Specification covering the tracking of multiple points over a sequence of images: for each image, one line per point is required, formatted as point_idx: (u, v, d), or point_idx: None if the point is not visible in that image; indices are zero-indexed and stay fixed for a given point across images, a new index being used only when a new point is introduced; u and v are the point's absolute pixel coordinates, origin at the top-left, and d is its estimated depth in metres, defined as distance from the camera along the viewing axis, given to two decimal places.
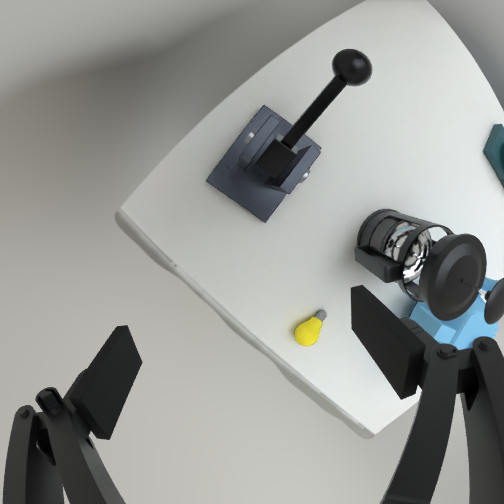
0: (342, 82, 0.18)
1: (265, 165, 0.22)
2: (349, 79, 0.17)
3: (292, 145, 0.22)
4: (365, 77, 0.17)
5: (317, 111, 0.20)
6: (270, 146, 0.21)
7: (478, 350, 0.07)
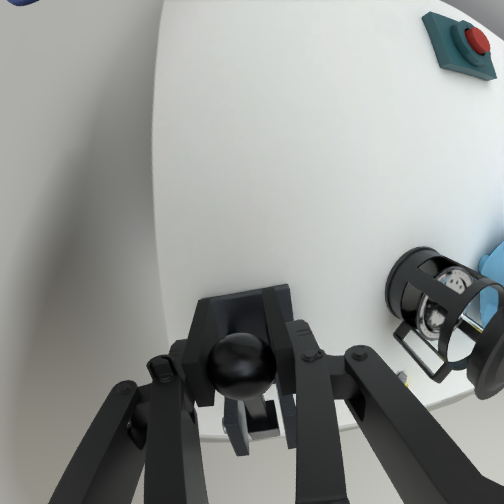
0: None
1: (261, 437, 0.18)
2: None
3: (267, 420, 0.17)
4: (270, 384, 0.11)
5: (258, 407, 0.15)
6: (251, 435, 0.17)
7: (353, 362, 0.09)
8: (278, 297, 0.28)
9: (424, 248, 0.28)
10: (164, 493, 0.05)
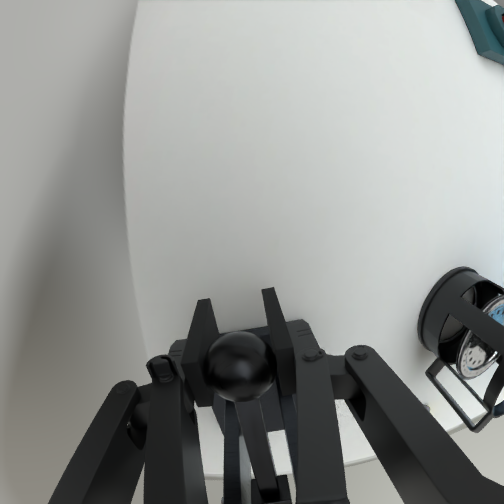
0: None
1: None
2: (253, 397, 0.11)
3: (276, 491, 0.11)
4: (268, 374, 0.11)
5: (262, 452, 0.11)
6: None
7: (353, 362, 0.09)
8: None
9: (464, 269, 0.21)
10: (164, 493, 0.05)
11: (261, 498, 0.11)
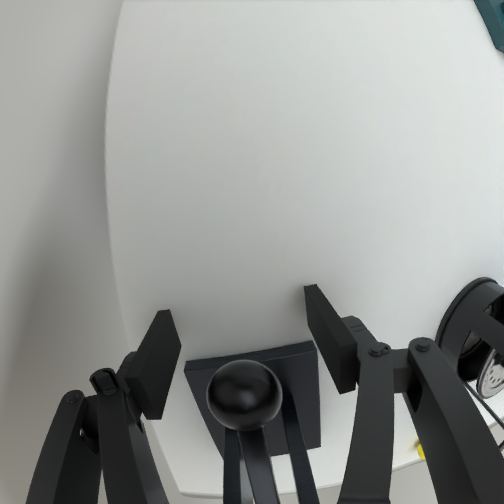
0: (255, 428, 0.10)
1: None
2: (257, 425, 0.10)
3: None
4: (272, 400, 0.10)
5: (267, 487, 0.09)
6: None
7: (416, 352, 0.09)
8: (300, 362, 0.18)
9: (485, 280, 0.18)
10: (125, 498, 0.05)
11: None
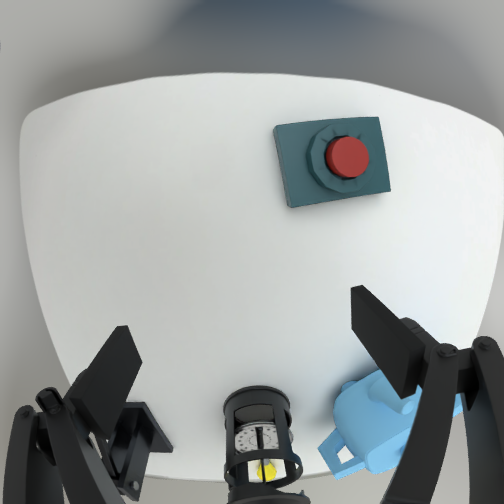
0: None
1: None
2: None
3: (115, 476, 0.24)
4: None
5: (105, 455, 0.25)
6: None
7: (478, 350, 0.07)
8: (137, 411, 0.34)
9: (255, 388, 0.34)
10: None
11: None
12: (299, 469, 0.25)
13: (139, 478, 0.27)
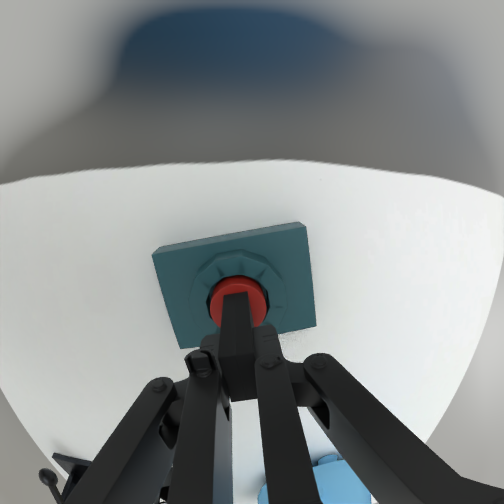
0: (51, 486, 0.21)
1: None
2: (48, 485, 0.20)
3: None
4: (49, 482, 0.20)
5: (59, 502, 0.20)
6: None
7: (312, 371, 0.09)
8: (85, 467, 0.28)
9: None
10: (190, 493, 0.05)
11: None
12: None
13: None
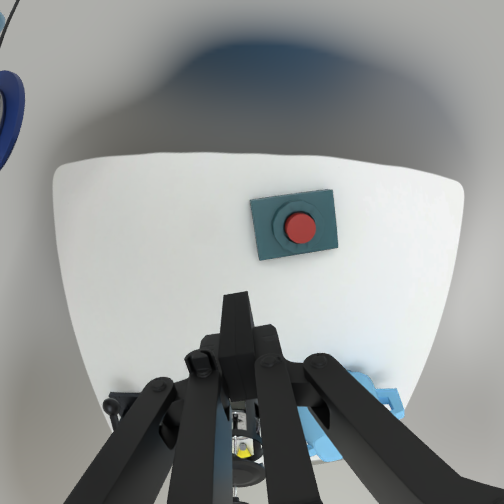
0: (113, 415, 0.37)
1: None
2: (111, 414, 0.37)
3: None
4: (114, 409, 0.37)
5: None
6: None
7: (312, 371, 0.09)
8: None
9: None
10: (190, 493, 0.05)
11: None
12: (262, 448, 0.36)
13: None
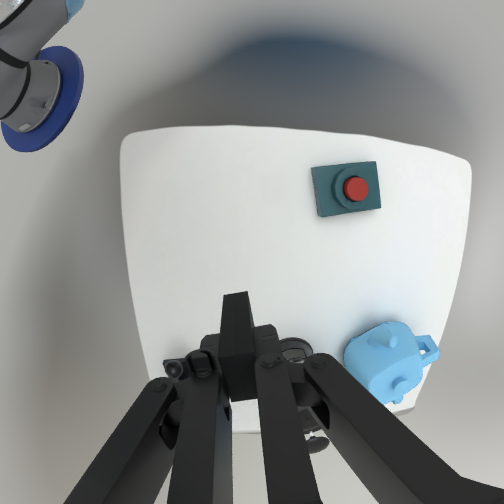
0: (176, 377, 0.43)
1: None
2: (175, 376, 0.43)
3: None
4: (178, 370, 0.43)
5: None
6: None
7: (312, 371, 0.09)
8: None
9: (290, 339, 0.51)
10: (190, 493, 0.05)
11: None
12: None
13: None
